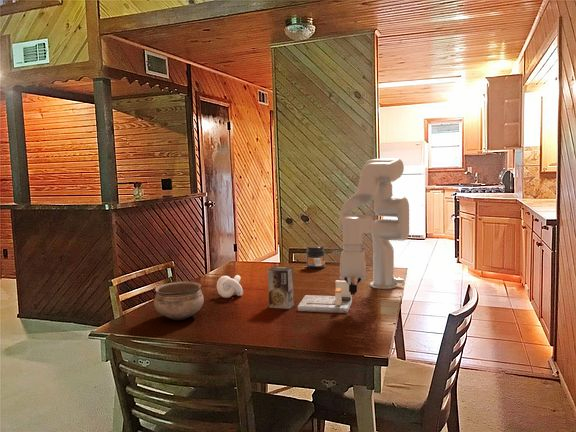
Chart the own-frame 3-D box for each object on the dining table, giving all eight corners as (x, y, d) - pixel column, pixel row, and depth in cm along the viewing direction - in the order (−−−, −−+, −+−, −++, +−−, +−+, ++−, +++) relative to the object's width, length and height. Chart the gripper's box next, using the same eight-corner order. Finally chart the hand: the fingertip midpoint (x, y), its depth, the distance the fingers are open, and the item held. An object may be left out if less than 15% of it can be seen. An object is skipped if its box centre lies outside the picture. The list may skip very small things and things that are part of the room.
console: (351, 301, 202) (351, 296, 202) (347, 313, 187) (347, 307, 186) (305, 299, 207) (305, 294, 207) (297, 310, 191) (297, 305, 191)
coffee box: (294, 304, 200) (293, 267, 198) (289, 309, 194) (288, 270, 192) (273, 303, 203) (272, 266, 201) (268, 307, 197) (267, 269, 195)
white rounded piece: (250, 295, 216) (250, 275, 215) (230, 301, 208) (229, 281, 207) (234, 291, 224) (233, 272, 223) (214, 297, 215) (213, 277, 214)
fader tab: (341, 302, 193) (341, 288, 192) (340, 305, 189) (340, 291, 188) (336, 301, 193) (336, 288, 193) (335, 304, 189) (335, 290, 189)
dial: (352, 296, 202) (352, 279, 201) (350, 300, 196) (350, 283, 195) (337, 295, 203) (336, 279, 202) (335, 299, 197) (334, 282, 197)
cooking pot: (197, 328, 175) (195, 295, 173) (146, 329, 175) (143, 296, 174) (210, 307, 199) (208, 278, 198) (165, 308, 200) (163, 279, 199)
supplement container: (319, 270, 262) (318, 248, 261) (303, 268, 268) (302, 247, 266) (328, 266, 271) (328, 245, 269) (312, 264, 276) (311, 244, 275)
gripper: (372, 247, 189) (372, 292, 191) (335, 246, 192) (335, 291, 194) (371, 250, 182) (371, 297, 183) (332, 249, 185) (332, 295, 187)
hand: (352, 294), depth 189 cm, fingers closed
